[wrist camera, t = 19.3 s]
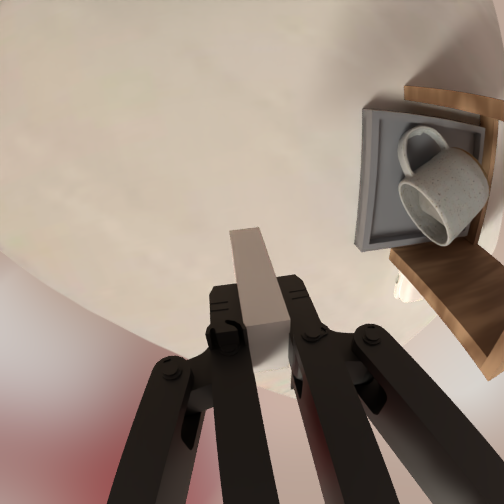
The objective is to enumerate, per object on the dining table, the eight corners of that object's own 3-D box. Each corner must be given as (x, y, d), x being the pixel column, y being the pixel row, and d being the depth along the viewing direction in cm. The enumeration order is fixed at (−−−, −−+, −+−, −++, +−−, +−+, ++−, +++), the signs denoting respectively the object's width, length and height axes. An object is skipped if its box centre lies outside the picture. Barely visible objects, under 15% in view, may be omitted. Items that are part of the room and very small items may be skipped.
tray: (362, 108, 24) (372, 110, 22) (475, 124, 25) (485, 128, 24) (354, 243, 31) (361, 252, 29) (458, 229, 32) (467, 235, 31)
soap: (390, 297, 37) (400, 310, 34) (401, 254, 33) (413, 266, 31) (437, 287, 37) (447, 298, 35) (449, 247, 34) (462, 257, 32)
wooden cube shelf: (404, 85, 23) (582, 126, 6) (484, 104, 24) (613, 154, 7) (389, 259, 33) (488, 381, 16) (463, 244, 34) (554, 331, 17)
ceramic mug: (457, 187, 28) (501, 213, 21) (411, 226, 30) (452, 261, 23) (427, 109, 23) (481, 120, 17) (374, 149, 25) (422, 170, 18)
